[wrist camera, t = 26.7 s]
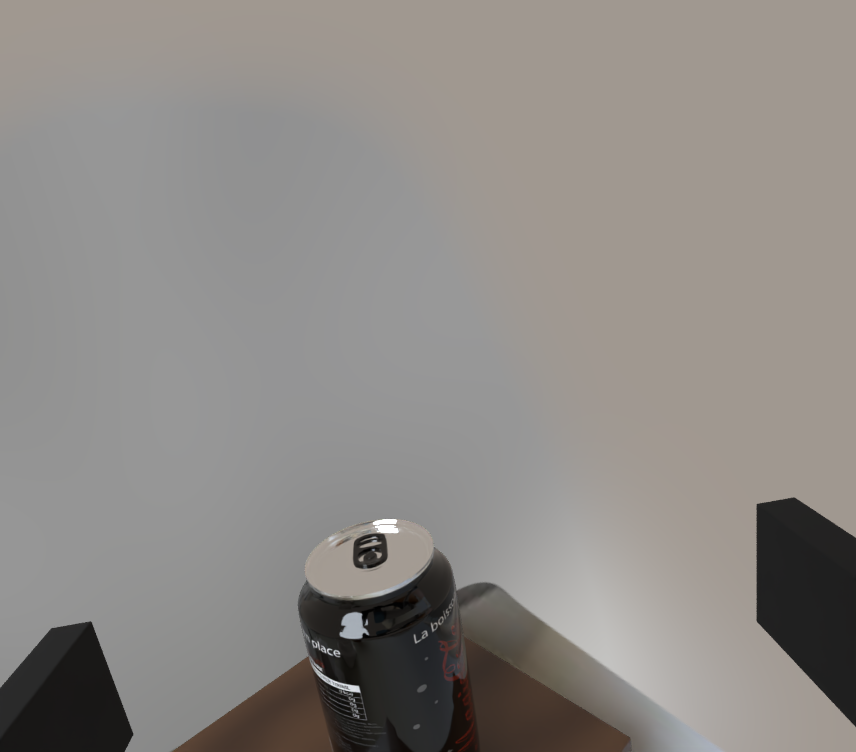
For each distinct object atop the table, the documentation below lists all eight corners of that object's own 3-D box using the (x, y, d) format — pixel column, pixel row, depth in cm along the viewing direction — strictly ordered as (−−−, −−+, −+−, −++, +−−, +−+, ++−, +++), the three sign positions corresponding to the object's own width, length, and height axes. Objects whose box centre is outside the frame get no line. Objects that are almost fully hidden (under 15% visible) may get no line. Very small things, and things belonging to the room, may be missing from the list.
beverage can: (469, 697, 30) (438, 501, 27) (498, 825, 24) (460, 586, 21) (346, 723, 30) (299, 527, 27) (339, 861, 23) (277, 623, 20)
